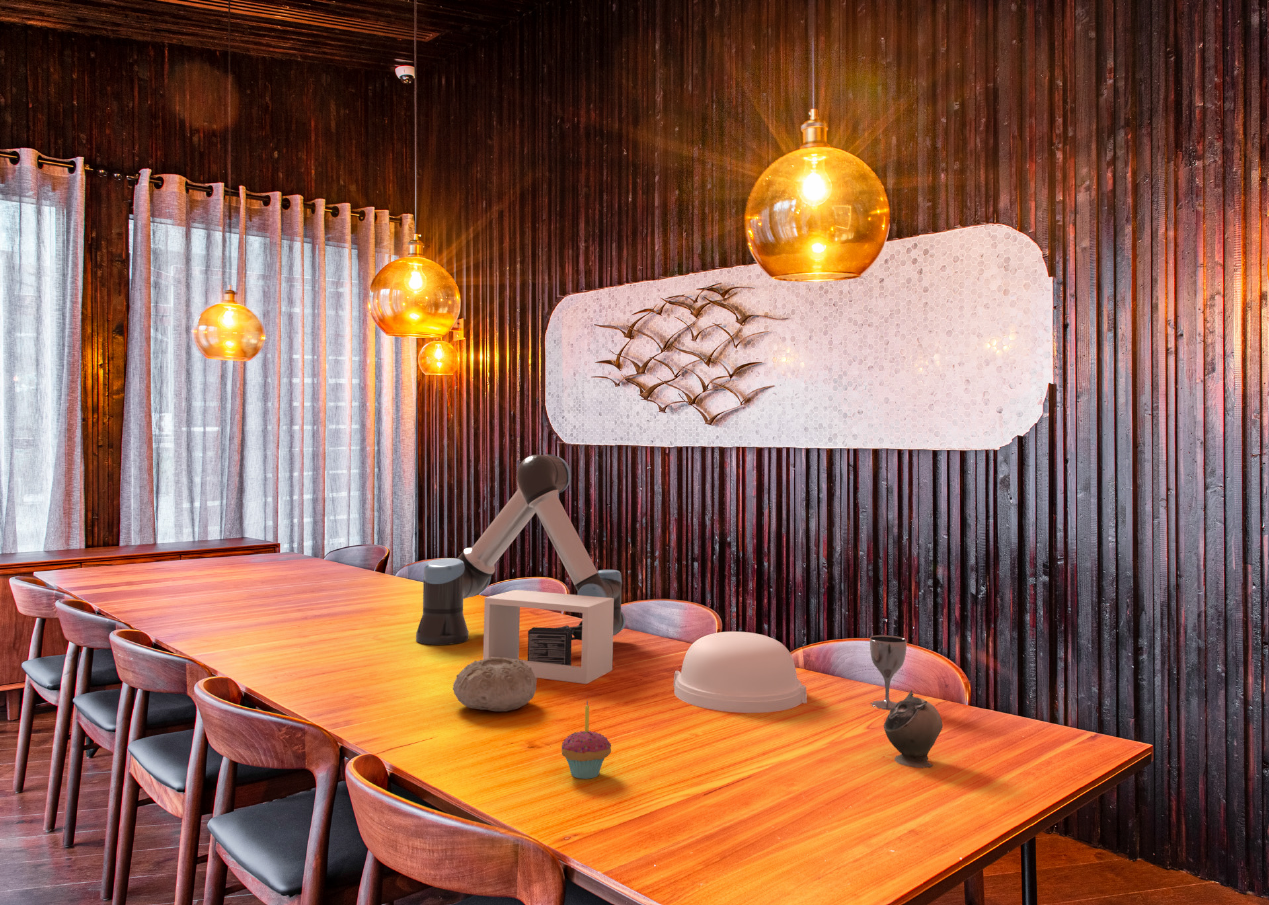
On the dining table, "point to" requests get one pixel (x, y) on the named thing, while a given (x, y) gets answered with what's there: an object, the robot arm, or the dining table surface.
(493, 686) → the decorative shell
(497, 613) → the cubby
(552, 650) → the small box
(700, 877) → the dining table surface
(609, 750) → the cupcake
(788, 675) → the dome cover
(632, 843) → the dining table surface
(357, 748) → the dining table surface
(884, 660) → the wine glass
